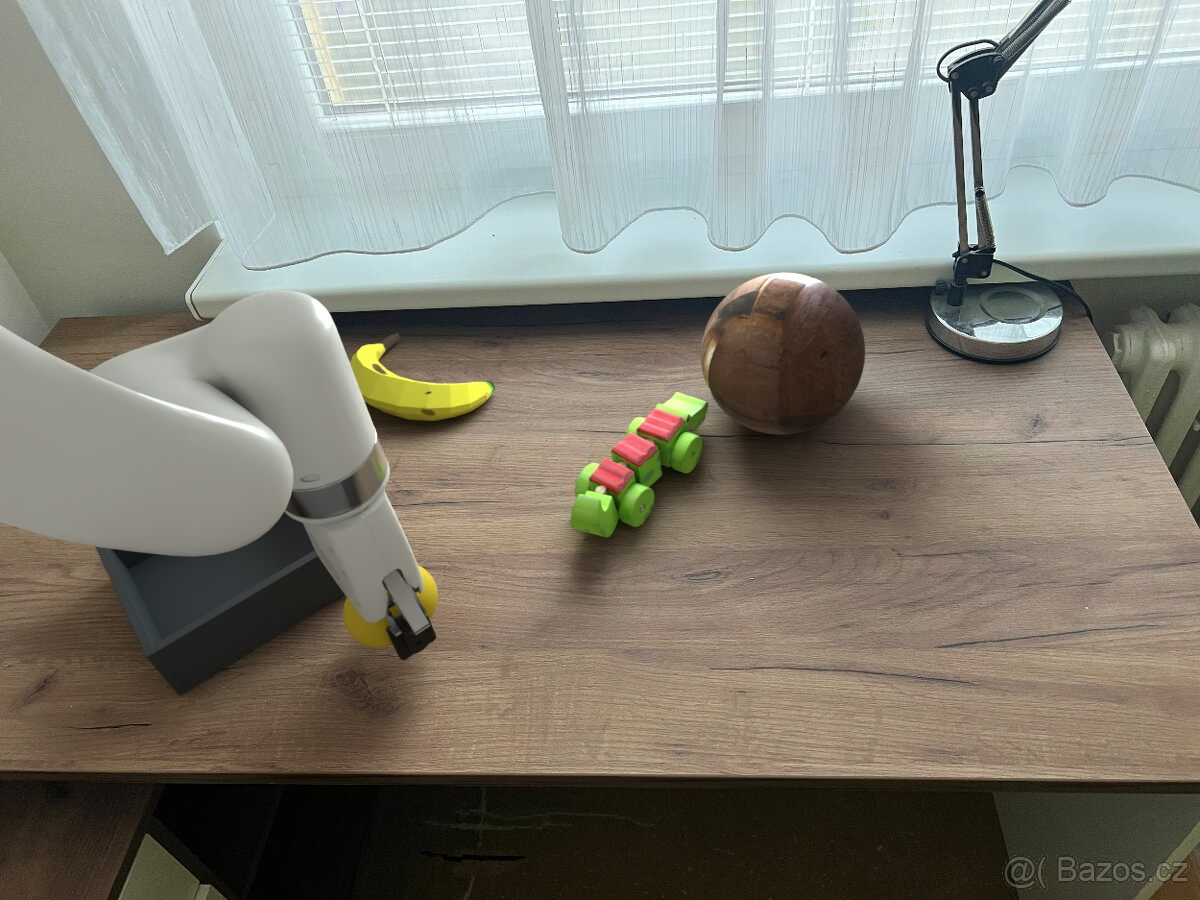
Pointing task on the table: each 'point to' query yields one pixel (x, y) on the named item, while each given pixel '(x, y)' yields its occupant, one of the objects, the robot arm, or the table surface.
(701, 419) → the toy crocodile
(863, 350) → the wooden sphere
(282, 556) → the crate
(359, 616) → the yellow rounded tiered object
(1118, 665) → the table surface
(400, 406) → the banana
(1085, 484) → the table surface
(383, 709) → the table surface
